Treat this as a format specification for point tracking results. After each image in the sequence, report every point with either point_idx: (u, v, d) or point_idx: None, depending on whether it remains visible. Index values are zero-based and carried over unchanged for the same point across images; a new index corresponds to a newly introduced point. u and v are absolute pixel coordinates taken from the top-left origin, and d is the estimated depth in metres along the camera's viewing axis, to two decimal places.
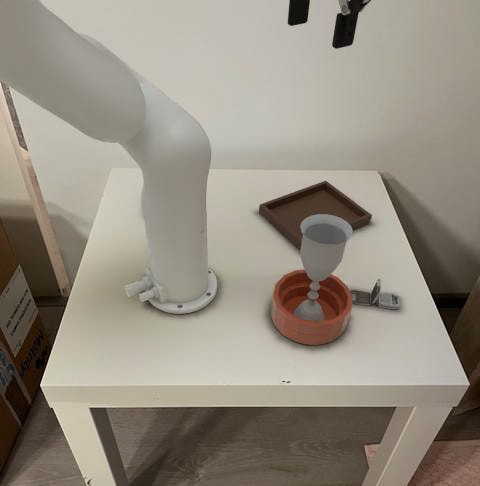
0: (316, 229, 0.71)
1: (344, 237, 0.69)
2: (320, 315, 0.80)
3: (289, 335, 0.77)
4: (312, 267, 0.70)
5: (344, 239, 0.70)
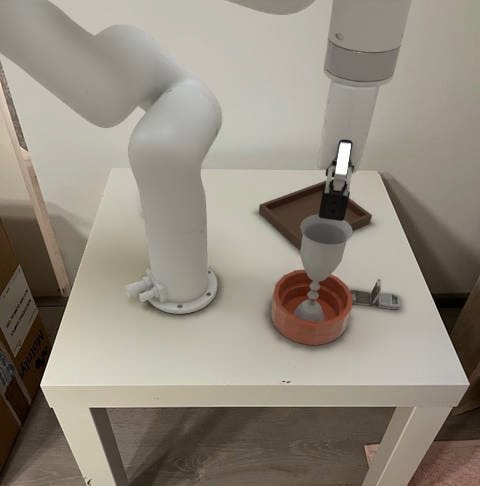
0: (316, 229, 0.71)
1: (344, 237, 0.69)
2: (320, 315, 0.80)
3: (289, 335, 0.77)
4: (312, 267, 0.70)
5: (344, 239, 0.70)
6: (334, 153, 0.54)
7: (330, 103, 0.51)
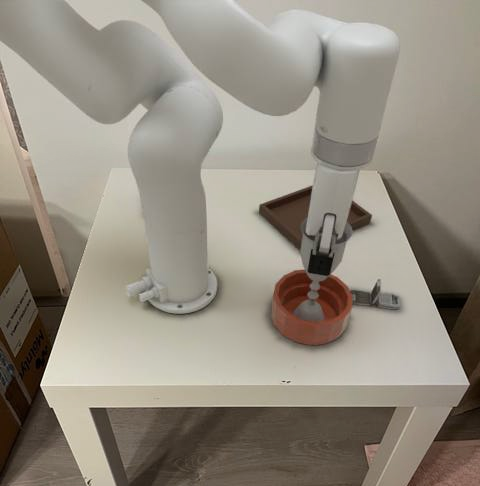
0: None
1: (344, 237, 0.69)
2: (320, 315, 0.80)
3: (289, 335, 0.77)
4: None
5: (344, 239, 0.70)
6: (320, 223, 0.61)
7: (316, 183, 0.58)
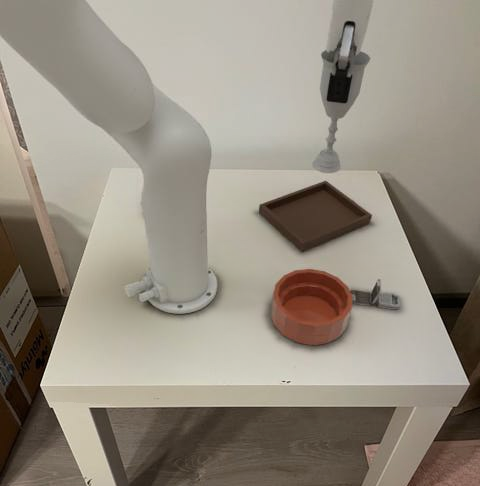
0: None
1: None
2: (337, 162, 0.84)
3: (289, 335, 0.77)
4: None
5: None
6: (340, 34, 0.66)
7: None
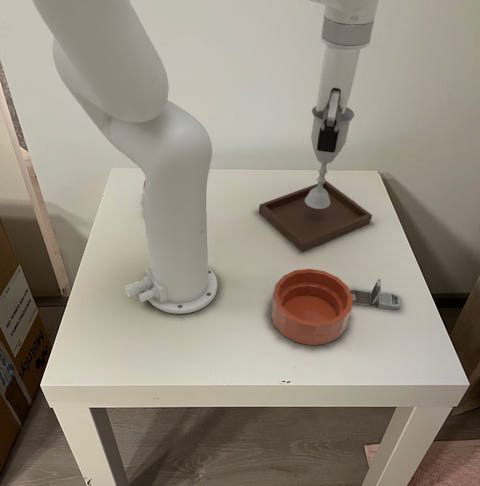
0: None
1: None
2: (327, 199, 0.95)
3: (289, 335, 0.77)
4: None
5: None
6: (328, 98, 0.77)
7: (325, 61, 0.74)
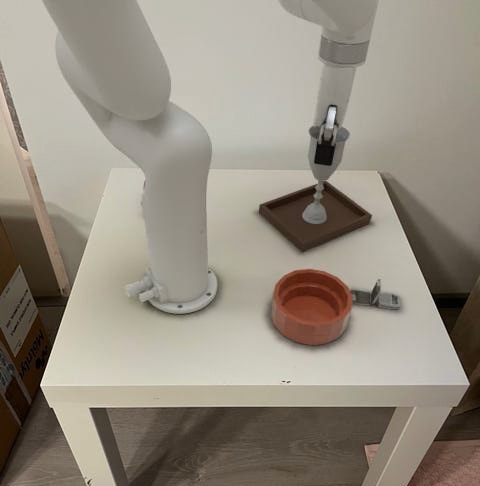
0: None
1: (343, 141, 0.88)
2: (324, 214, 0.98)
3: (289, 335, 0.77)
4: (318, 165, 0.88)
5: None
6: (325, 114, 0.79)
7: (322, 78, 0.76)
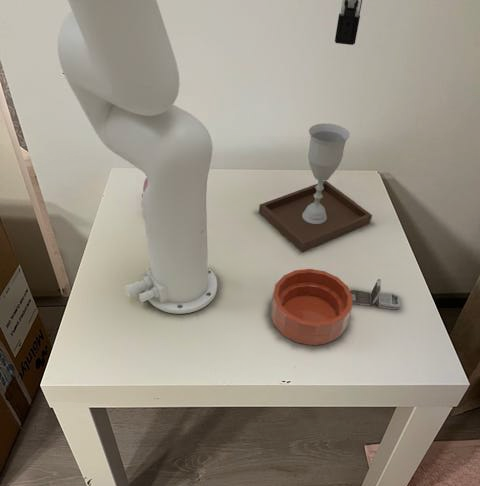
0: (320, 136, 0.90)
1: (343, 141, 0.88)
2: (324, 214, 0.98)
3: (289, 335, 0.77)
4: (318, 165, 0.88)
5: None
6: None
7: None
